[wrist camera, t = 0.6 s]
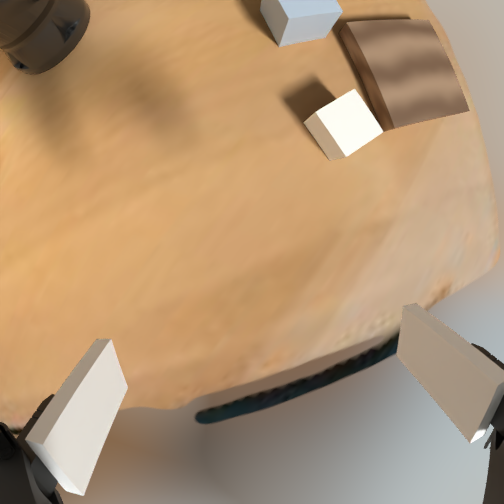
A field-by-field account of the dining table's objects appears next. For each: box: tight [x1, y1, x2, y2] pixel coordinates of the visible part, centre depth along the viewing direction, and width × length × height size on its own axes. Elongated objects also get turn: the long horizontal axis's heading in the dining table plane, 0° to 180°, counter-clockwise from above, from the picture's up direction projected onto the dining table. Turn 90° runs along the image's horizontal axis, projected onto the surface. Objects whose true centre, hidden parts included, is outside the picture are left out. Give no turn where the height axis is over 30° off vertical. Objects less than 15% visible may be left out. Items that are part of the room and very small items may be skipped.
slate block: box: [260, 0, 343, 47], centre depth 28 cm, size 7×7×8 cm
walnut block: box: [339, 19, 469, 132], centre depth 32 cm, size 16×16×4 cm
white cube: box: [303, 89, 383, 161], centre depth 33 cm, size 6×6×6 cm
